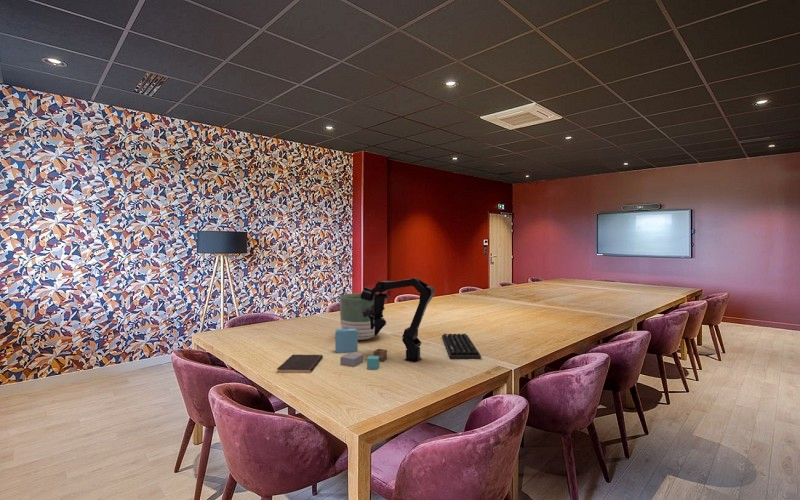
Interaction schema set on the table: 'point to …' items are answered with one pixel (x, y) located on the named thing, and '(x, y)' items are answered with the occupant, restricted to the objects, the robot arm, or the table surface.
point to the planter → (355, 315)
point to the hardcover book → (300, 363)
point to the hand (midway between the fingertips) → (373, 332)
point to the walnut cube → (381, 354)
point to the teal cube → (373, 362)
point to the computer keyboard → (460, 347)
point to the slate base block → (351, 359)
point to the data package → (346, 340)
